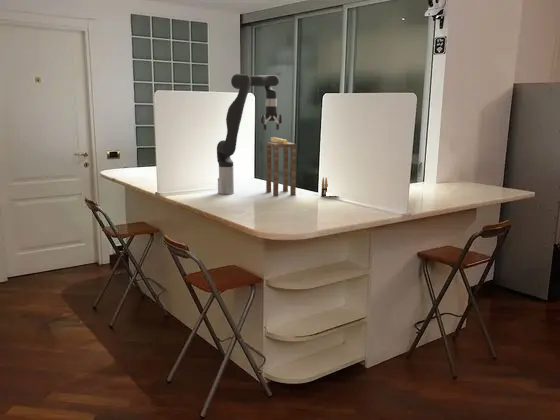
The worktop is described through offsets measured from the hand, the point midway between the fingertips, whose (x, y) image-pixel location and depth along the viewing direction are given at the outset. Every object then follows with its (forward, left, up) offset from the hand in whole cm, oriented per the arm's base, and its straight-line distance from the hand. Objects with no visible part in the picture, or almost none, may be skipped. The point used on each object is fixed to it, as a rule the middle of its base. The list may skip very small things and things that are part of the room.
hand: (271, 129), depth 355 cm
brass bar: (-9, -27, -6) cm, 29 cm away
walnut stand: (-10, -31, -38) cm, 50 cm away
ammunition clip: (+12, -54, -38) cm, 67 cm away
